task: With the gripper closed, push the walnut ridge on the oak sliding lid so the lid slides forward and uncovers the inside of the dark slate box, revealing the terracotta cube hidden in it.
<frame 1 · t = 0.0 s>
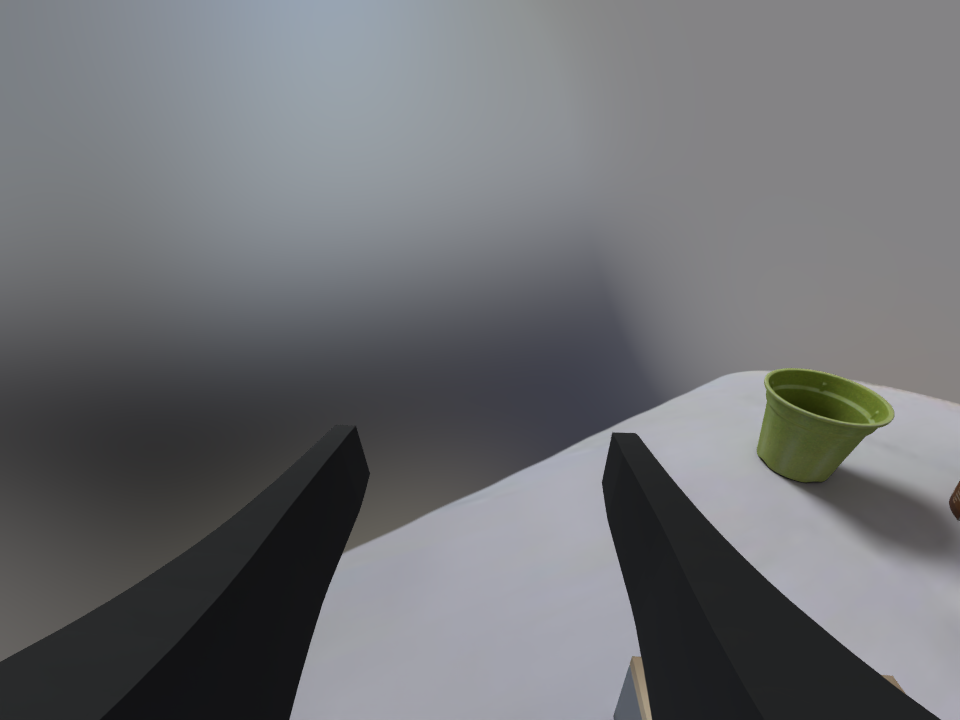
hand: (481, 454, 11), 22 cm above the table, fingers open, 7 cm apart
plant pot: (791, 464, 40), on the table
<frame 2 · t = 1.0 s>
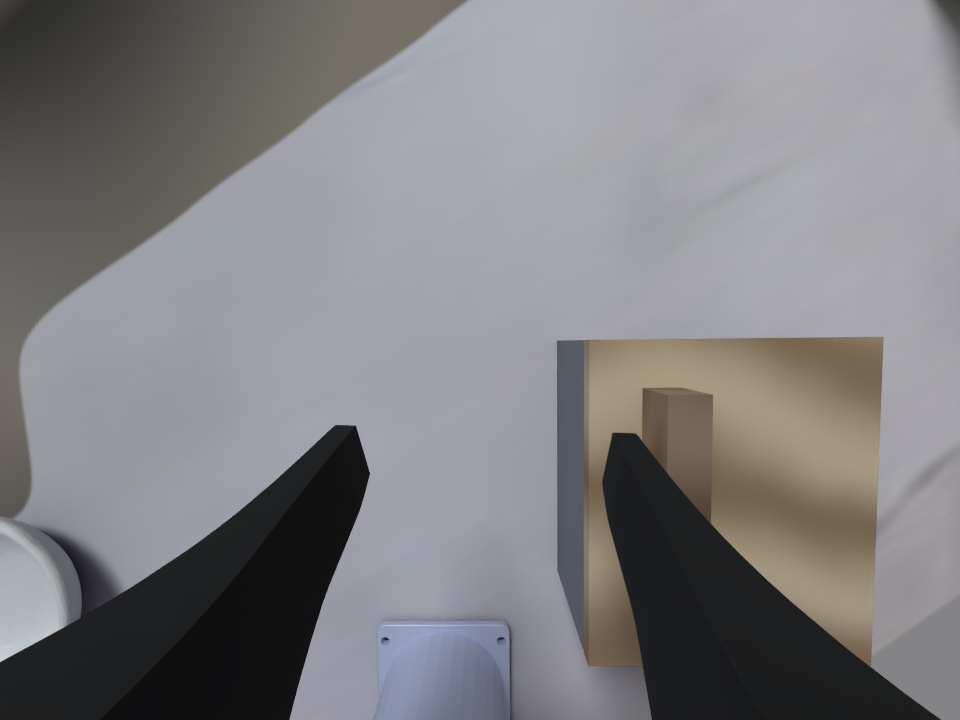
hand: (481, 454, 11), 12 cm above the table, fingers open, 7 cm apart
box: (657, 456, 23), on the table
lid: (743, 513, 15), point 8 cm above the table, slide at 0.0 cm
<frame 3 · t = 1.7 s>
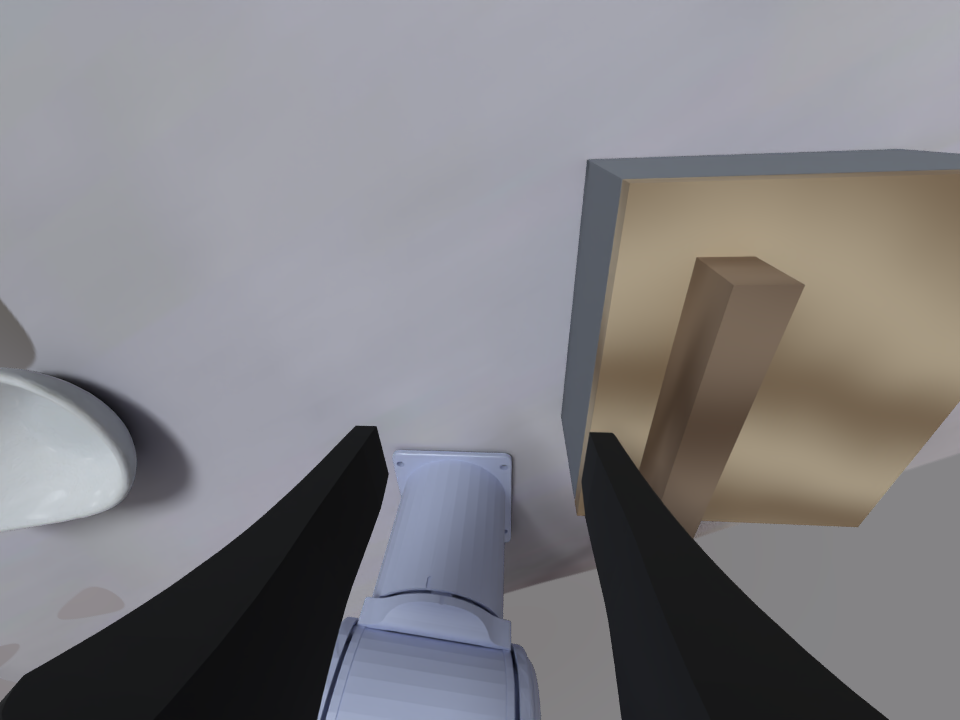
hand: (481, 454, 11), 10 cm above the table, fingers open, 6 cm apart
box: (693, 312, 19), on the table
spoon rest: (39, 436, 29), on the table
lid: (783, 410, 13), point 8 cm above the table, slide at 0.0 cm
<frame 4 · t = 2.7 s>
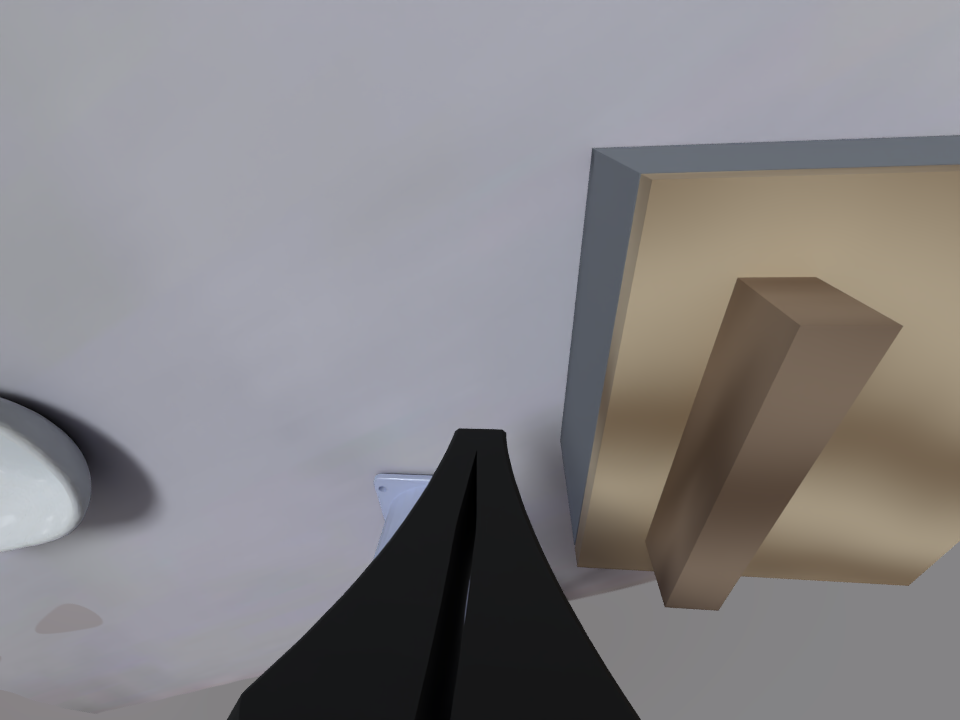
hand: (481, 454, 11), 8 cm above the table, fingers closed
box: (713, 328, 16), on the table
lid: (837, 465, 10), point 8 cm above the table, slide at 0.0 cm
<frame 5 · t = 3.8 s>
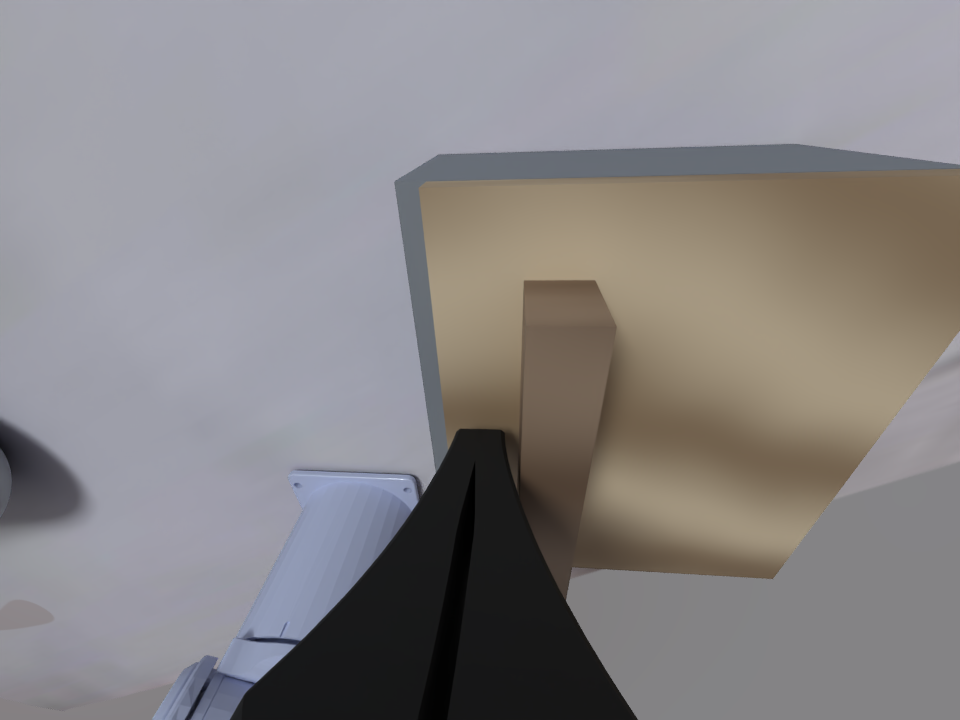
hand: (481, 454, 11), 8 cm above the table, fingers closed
box: (586, 328, 17), on the table
lid: (656, 460, 11), point 8 cm above the table, slide at 0.8 cm, touching gripper
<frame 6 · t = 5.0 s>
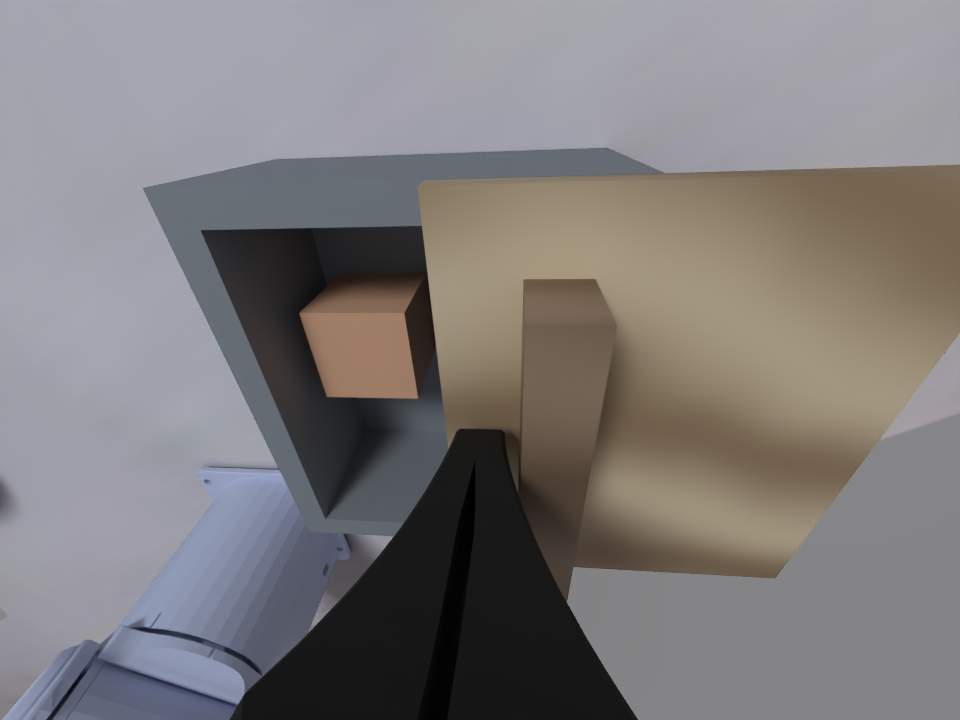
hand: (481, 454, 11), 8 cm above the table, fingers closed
box: (450, 327, 17), on the table
lid: (657, 459, 11), point 8 cm above the table, slide at 6.9 cm, touching gripper
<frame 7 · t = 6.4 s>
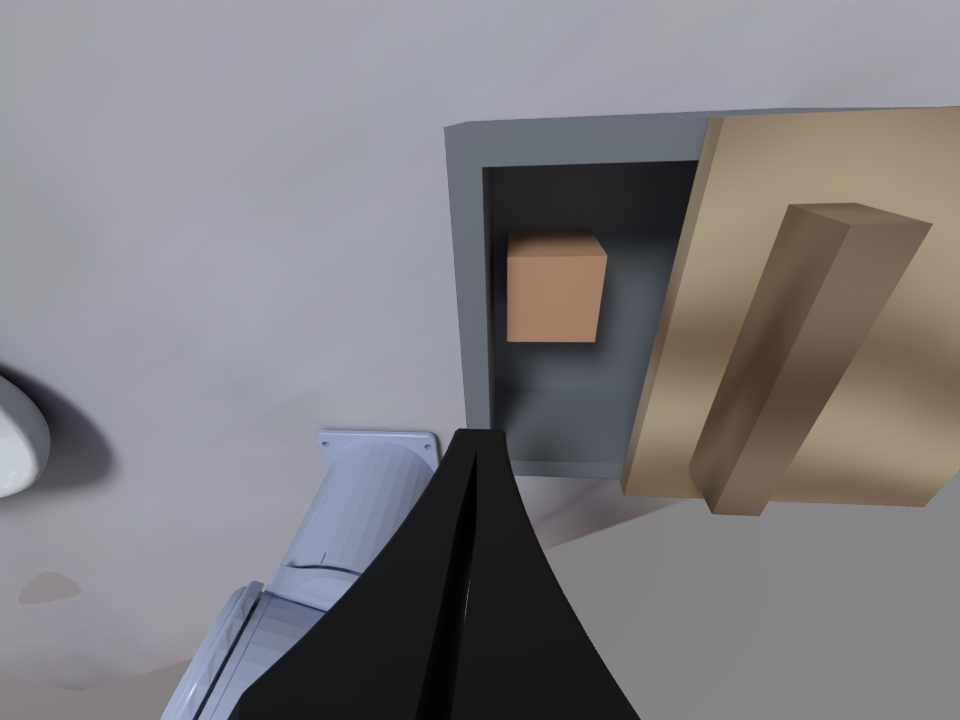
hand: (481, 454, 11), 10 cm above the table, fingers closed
box: (596, 284, 19), on the table
lid: (867, 377, 12), point 8 cm above the table, slide at 6.9 cm
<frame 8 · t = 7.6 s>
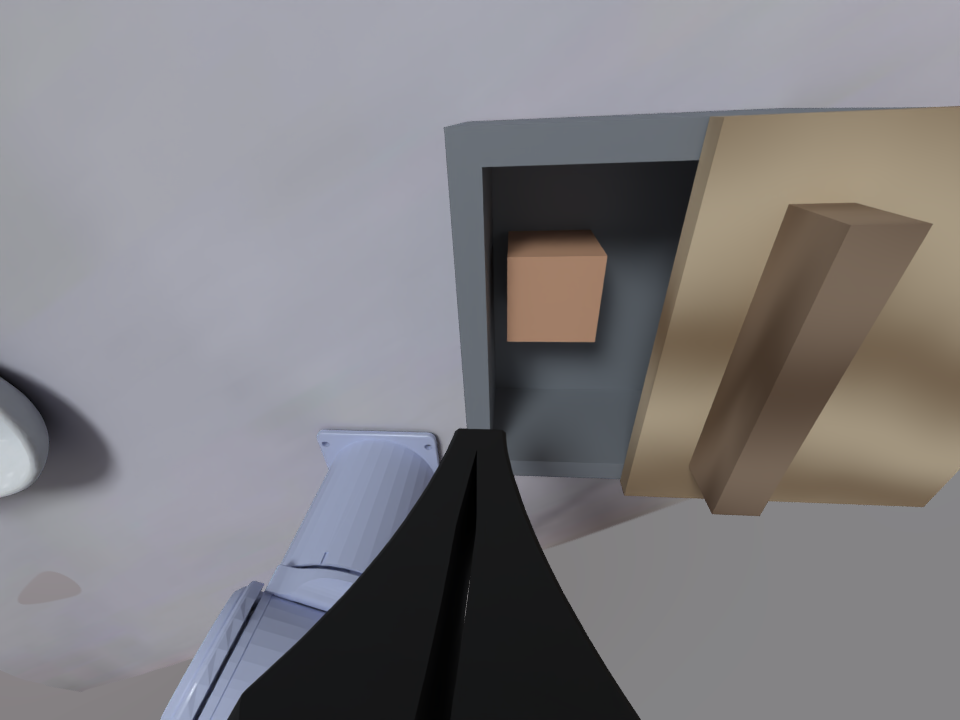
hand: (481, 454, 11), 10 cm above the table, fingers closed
box: (596, 284, 19), on the table
lid: (867, 377, 12), point 8 cm above the table, slide at 6.9 cm
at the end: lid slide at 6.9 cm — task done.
